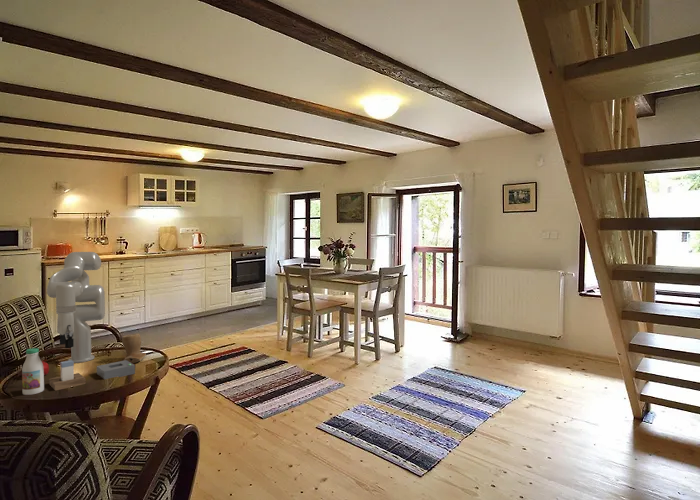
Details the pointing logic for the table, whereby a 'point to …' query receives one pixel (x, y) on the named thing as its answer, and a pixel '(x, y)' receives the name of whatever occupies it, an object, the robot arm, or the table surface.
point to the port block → (116, 369)
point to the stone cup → (133, 347)
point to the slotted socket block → (67, 382)
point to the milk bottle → (32, 373)
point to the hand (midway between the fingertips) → (66, 345)
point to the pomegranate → (45, 367)
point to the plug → (67, 370)
